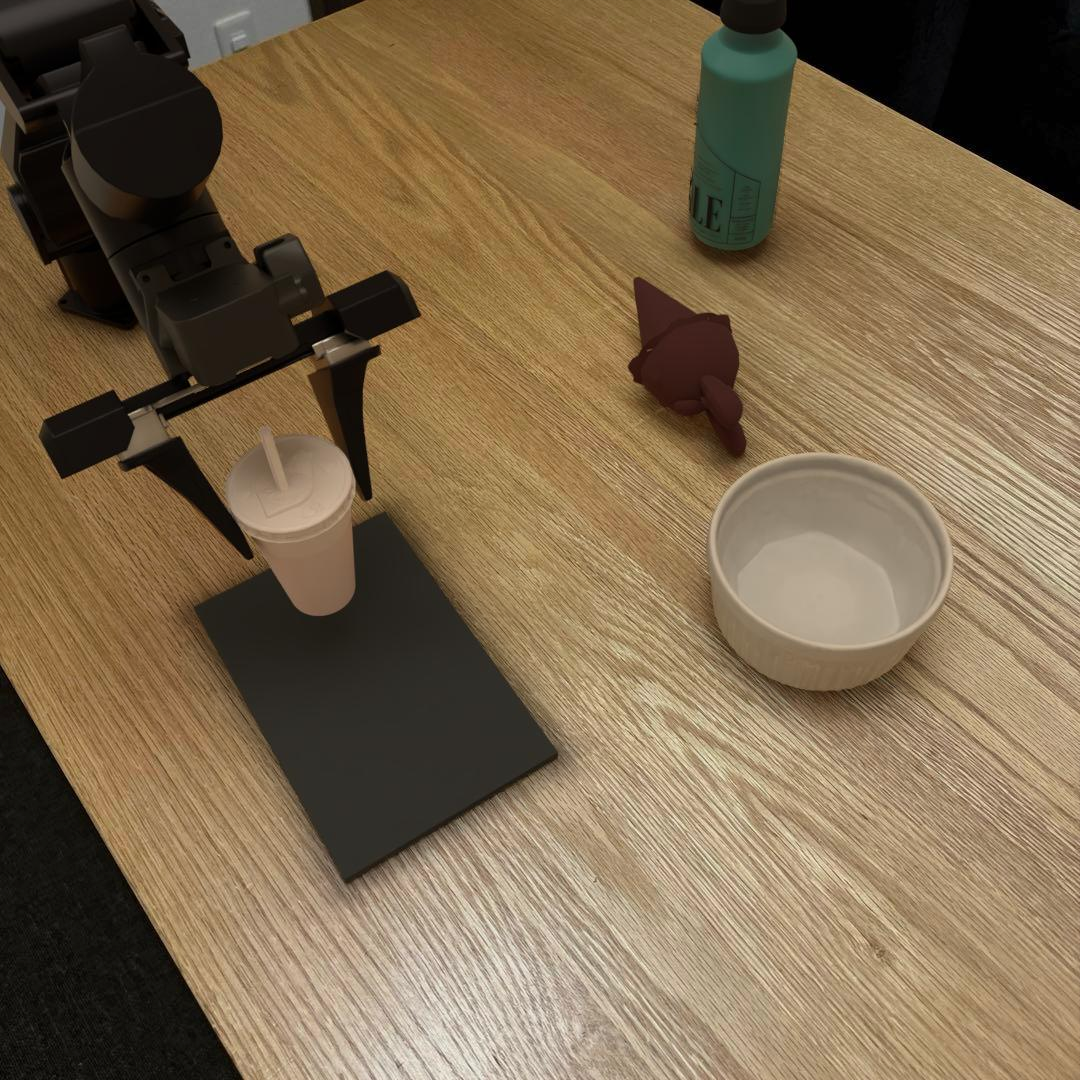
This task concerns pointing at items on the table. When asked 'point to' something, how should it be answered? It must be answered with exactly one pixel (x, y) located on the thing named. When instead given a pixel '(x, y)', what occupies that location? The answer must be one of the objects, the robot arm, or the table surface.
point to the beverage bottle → (741, 124)
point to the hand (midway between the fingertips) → (309, 529)
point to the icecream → (689, 363)
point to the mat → (375, 701)
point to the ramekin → (826, 569)
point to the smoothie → (299, 516)
